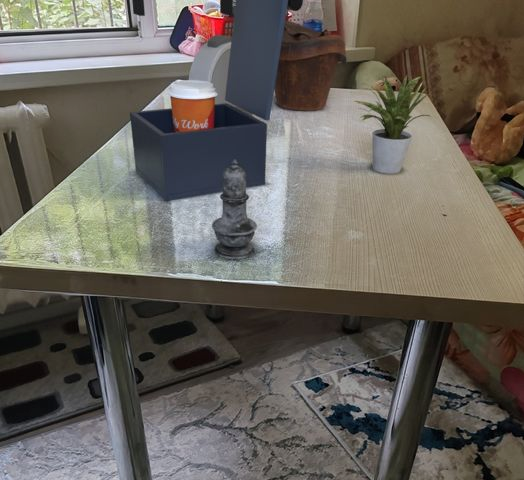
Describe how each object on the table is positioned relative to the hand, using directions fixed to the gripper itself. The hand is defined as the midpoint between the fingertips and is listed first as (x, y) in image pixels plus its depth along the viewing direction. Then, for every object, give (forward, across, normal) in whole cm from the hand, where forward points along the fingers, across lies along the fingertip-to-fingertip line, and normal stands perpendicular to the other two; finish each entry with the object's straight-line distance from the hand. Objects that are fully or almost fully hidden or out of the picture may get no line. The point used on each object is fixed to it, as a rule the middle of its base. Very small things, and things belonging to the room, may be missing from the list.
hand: (184, 14), depth 80 cm
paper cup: (+24, +1, 0) cm, 24 cm away
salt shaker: (+24, -5, -28) cm, 37 cm away
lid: (+4, +11, 0) cm, 12 cm away
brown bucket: (+24, +47, +38) cm, 65 cm away
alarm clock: (+24, +17, +23) cm, 38 cm away
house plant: (+24, +36, -8) cm, 44 cm away
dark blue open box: (+24, +2, 0) cm, 24 cm away
